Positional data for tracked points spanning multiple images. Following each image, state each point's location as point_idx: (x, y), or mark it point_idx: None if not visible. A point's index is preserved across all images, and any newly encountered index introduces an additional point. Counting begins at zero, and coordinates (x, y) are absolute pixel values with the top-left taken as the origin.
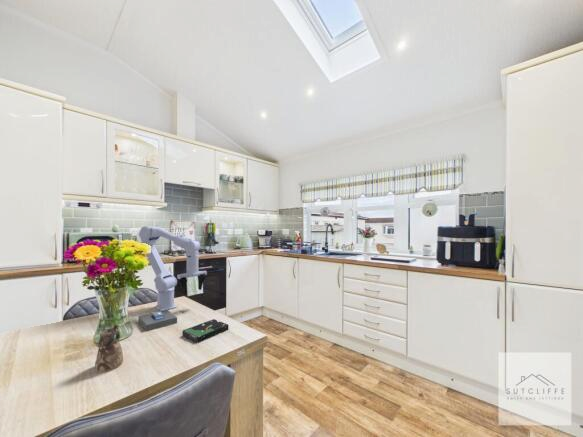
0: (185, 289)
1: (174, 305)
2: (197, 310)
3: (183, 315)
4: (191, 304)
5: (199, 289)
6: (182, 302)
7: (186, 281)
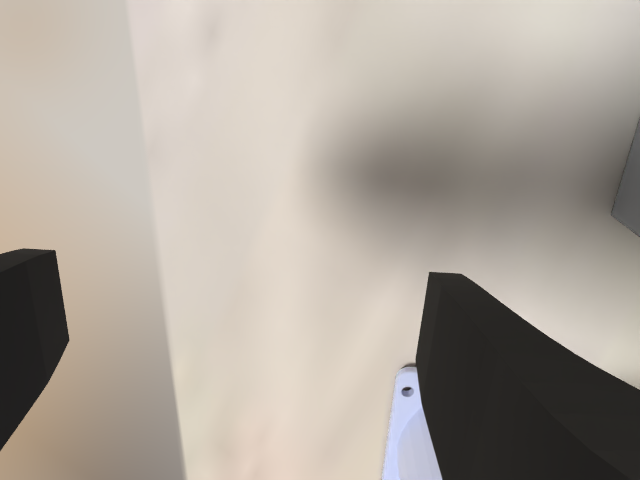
0: (487, 301)
1: (402, 421)
2: (252, 61)
3: (496, 8)
4: (215, 350)
5: (59, 287)
6: (268, 477)
7: (634, 455)
